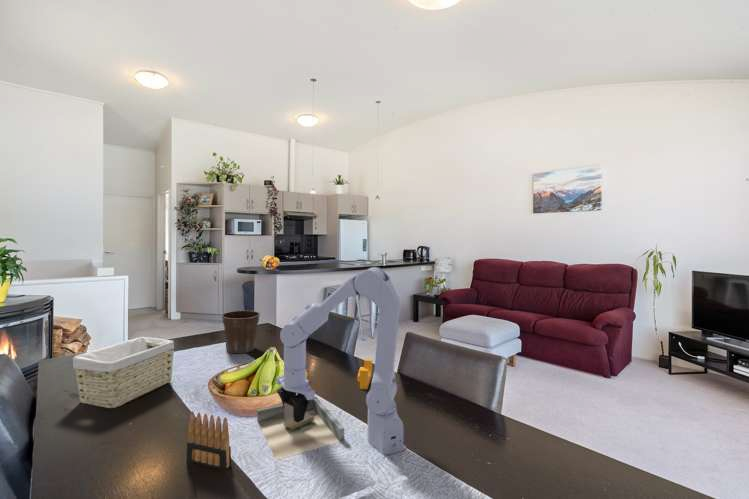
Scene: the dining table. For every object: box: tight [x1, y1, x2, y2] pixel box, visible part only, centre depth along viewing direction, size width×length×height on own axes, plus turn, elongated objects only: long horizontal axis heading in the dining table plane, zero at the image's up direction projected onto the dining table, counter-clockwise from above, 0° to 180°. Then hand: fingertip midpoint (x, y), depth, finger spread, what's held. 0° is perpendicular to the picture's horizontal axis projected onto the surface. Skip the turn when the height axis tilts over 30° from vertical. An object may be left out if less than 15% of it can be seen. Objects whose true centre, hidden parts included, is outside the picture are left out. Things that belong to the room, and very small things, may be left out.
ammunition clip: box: [186, 410, 232, 471], centre depth 82 cm, size 11×2×12 cm, turn 73°
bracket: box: [284, 400, 314, 430], centre depth 99 cm, size 7×4×6 cm, turn 139°
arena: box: [256, 396, 345, 461], centre depth 97 cm, size 20×17×4 cm
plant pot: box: [221, 310, 261, 354], centre depth 165 cm, size 16×16×16 cm
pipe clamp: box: [357, 358, 373, 390], centre depth 131 cm, size 12×4×6 cm, turn 173°
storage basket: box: [72, 336, 175, 409], centre depth 120 cm, size 24×16×15 cm
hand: (294, 417), depth 98 cm, fingers closed on bracket, 4 cm apart
